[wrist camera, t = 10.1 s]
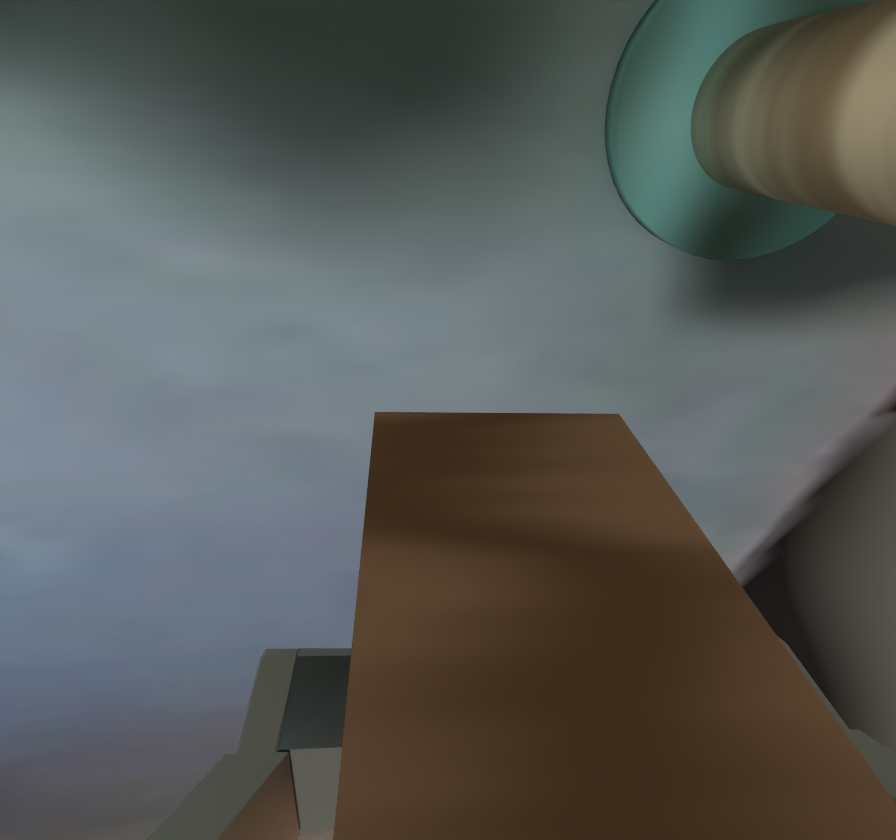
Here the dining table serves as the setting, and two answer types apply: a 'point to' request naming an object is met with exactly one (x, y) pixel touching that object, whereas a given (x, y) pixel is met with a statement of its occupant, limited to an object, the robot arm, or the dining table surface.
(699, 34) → the bobbin
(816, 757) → the wooden block
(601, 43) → the dining table surface
